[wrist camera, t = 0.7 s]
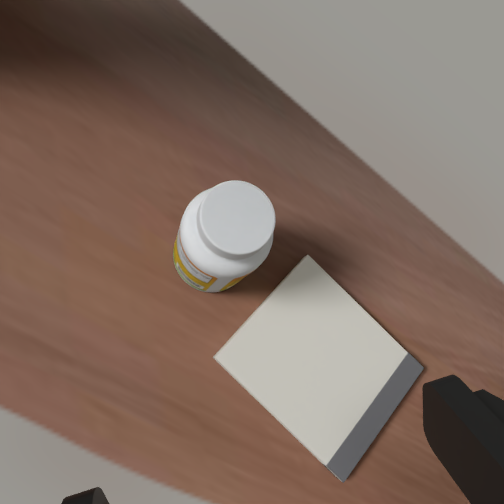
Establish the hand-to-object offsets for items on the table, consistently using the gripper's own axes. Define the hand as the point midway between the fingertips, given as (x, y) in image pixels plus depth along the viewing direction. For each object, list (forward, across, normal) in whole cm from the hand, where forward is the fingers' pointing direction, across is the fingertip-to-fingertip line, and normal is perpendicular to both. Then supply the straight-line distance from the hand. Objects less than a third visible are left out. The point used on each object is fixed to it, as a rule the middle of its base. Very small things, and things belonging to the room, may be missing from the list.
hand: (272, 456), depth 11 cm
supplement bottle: (+22, 0, +5) cm, 22 cm away
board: (+17, -6, +13) cm, 22 cm away
